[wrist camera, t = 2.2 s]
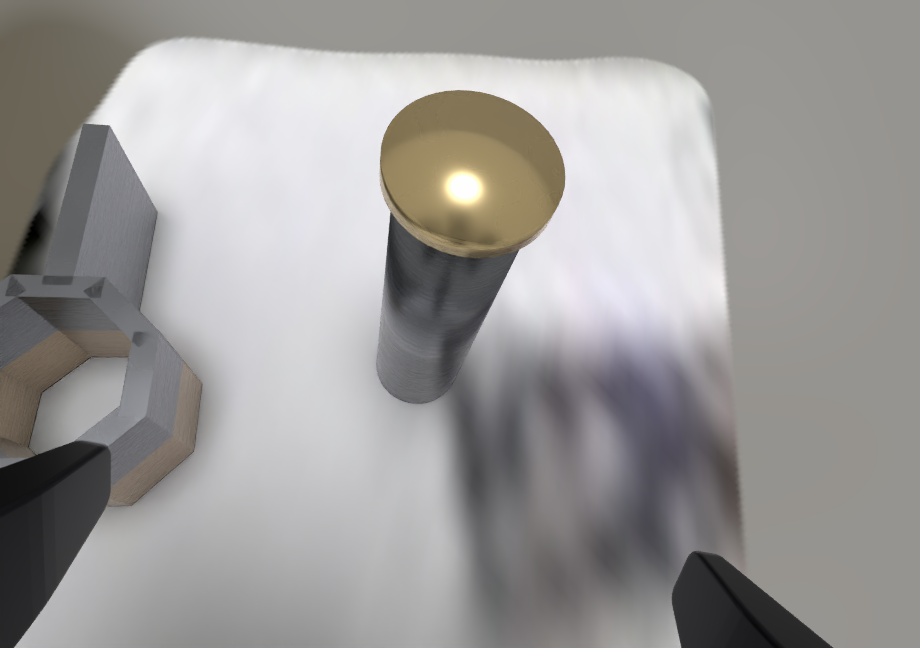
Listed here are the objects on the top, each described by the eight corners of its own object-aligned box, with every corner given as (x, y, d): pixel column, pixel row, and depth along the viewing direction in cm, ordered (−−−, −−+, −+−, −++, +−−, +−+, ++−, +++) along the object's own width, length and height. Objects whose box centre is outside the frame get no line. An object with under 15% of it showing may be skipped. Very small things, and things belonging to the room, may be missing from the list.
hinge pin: (466, 410, 22) (577, 246, 11) (368, 411, 22) (380, 238, 10) (460, 321, 24) (553, 97, 13) (369, 320, 23) (380, 83, 12)
